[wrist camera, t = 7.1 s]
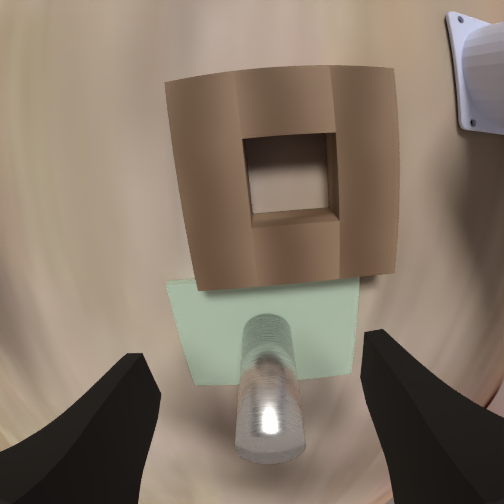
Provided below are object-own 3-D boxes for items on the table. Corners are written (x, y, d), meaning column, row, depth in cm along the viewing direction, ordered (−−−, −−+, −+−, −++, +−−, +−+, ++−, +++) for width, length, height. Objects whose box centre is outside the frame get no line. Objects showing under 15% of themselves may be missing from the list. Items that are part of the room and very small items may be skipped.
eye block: (376, 74, 15) (393, 68, 12) (380, 254, 19) (394, 272, 17) (177, 87, 15) (164, 82, 13) (204, 270, 20) (197, 291, 17)
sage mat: (357, 264, 19) (360, 268, 19) (349, 368, 23) (350, 373, 22) (168, 280, 20) (165, 285, 19) (195, 380, 23) (194, 385, 23)
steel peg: (284, 308, 20) (298, 424, 12) (295, 345, 21) (310, 457, 13) (236, 319, 20) (224, 436, 12) (250, 355, 21) (247, 467, 13)
